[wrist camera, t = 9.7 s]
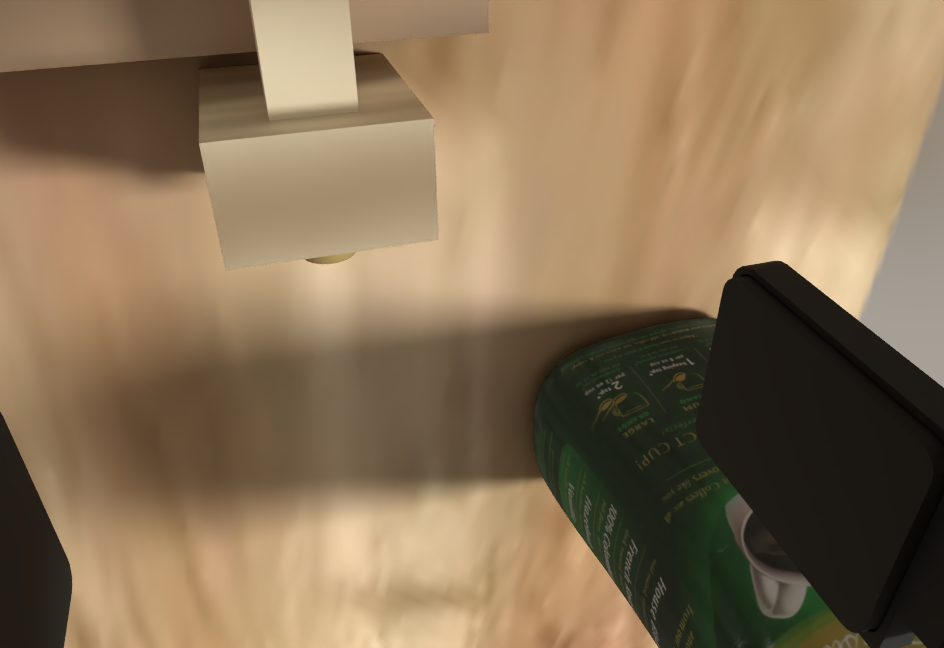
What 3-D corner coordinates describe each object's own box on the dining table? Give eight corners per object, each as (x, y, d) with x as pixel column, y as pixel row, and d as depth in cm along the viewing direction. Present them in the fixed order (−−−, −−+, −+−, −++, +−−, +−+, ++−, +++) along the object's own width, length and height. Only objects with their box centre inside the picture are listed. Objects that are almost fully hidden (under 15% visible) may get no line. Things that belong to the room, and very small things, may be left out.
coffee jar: (530, 495, 34) (796, 1037, 19) (520, 347, 29) (860, 901, 14) (730, 437, 35) (1121, 889, 20) (750, 289, 31) (1267, 728, 16)
